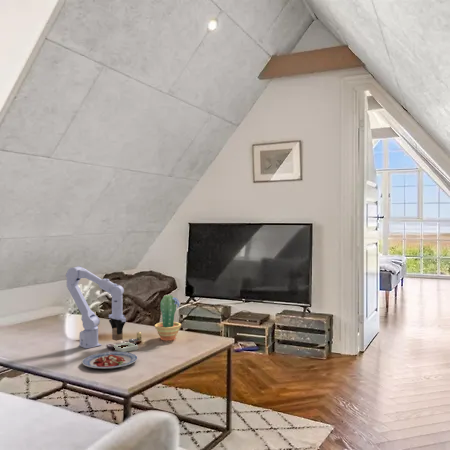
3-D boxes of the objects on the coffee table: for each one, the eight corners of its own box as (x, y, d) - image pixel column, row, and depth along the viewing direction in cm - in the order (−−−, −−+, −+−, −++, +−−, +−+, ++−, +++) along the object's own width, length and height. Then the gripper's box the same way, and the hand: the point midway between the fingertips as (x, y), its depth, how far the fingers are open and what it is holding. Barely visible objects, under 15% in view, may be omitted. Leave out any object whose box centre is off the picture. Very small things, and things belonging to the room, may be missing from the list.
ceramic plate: (72, 363, 227) (72, 357, 227) (119, 352, 245) (119, 347, 245) (99, 376, 209) (99, 369, 209) (148, 363, 227) (148, 357, 227)
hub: (130, 346, 257) (130, 343, 257) (125, 344, 261) (125, 342, 261) (137, 344, 261) (137, 342, 261) (132, 342, 265) (132, 340, 265)
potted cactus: (168, 343, 263) (168, 298, 262) (148, 339, 272) (148, 295, 271) (187, 337, 275) (186, 294, 274) (167, 333, 284) (167, 292, 284)
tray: (122, 353, 244) (122, 348, 244) (113, 349, 251) (113, 345, 250) (138, 349, 250) (138, 345, 250) (128, 346, 257) (128, 342, 257)
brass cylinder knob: (130, 342, 259) (130, 335, 259) (127, 341, 261) (127, 334, 261) (142, 339, 264) (142, 332, 264) (139, 339, 266) (139, 331, 266)
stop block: (116, 340, 254) (116, 329, 254) (112, 339, 257) (112, 328, 257) (122, 339, 257) (122, 328, 257) (118, 338, 260) (118, 327, 260)
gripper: (131, 309, 254) (130, 334, 255) (116, 305, 265) (116, 329, 265) (119, 310, 250) (119, 336, 250) (105, 307, 260) (105, 331, 260)
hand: (117, 333), depth 257 cm, fingers closed on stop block, 4 cm apart
